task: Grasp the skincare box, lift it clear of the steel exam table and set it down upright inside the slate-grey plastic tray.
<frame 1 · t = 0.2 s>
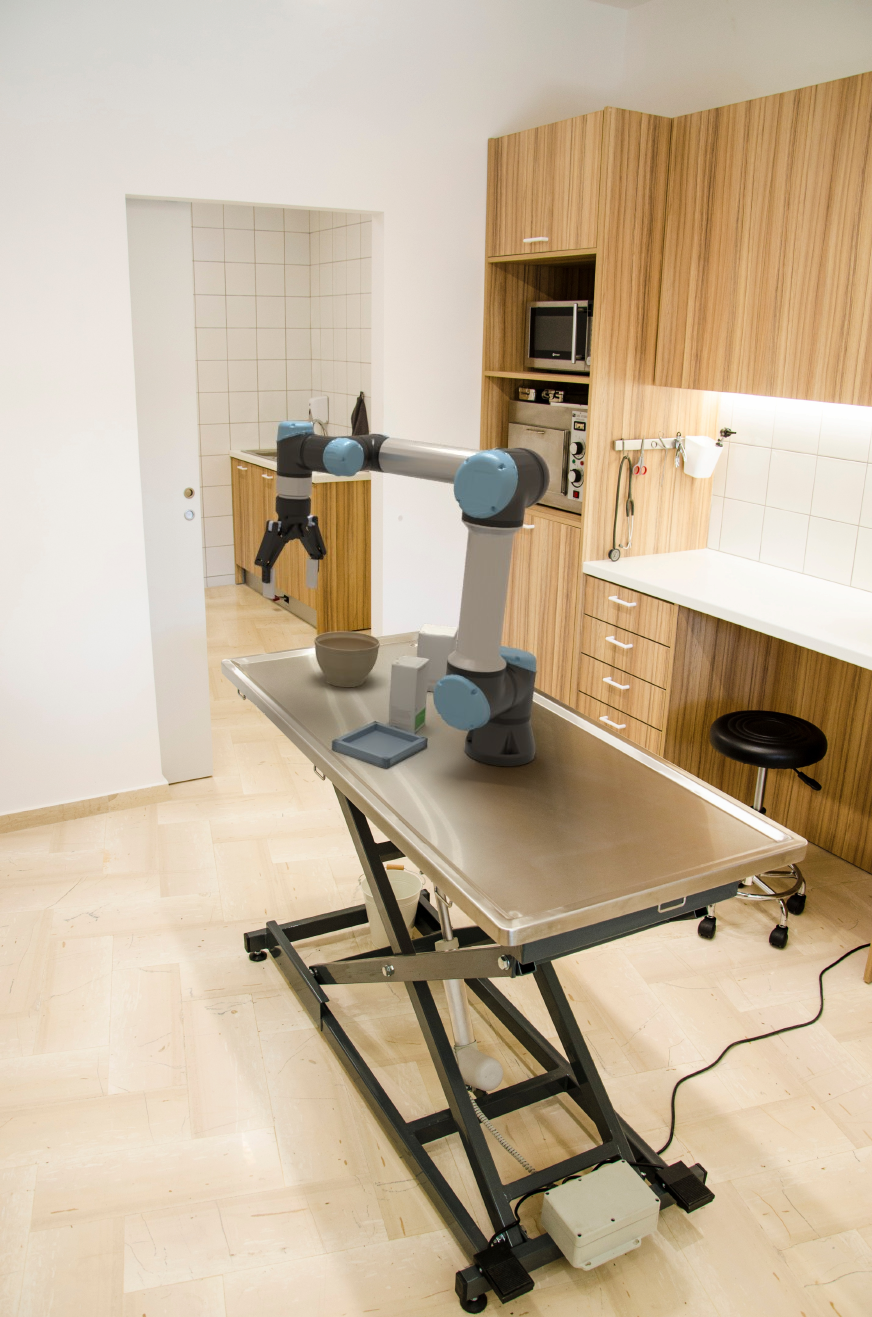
hand: (290, 592, 217), 28 cm above the table, fingers open, 13 cm apart
supplement box: (434, 687, 248), on the table
planter bowl: (345, 682, 247), on the table
tray: (380, 748, 209), on the table
skincare box: (405, 727, 221), on the table
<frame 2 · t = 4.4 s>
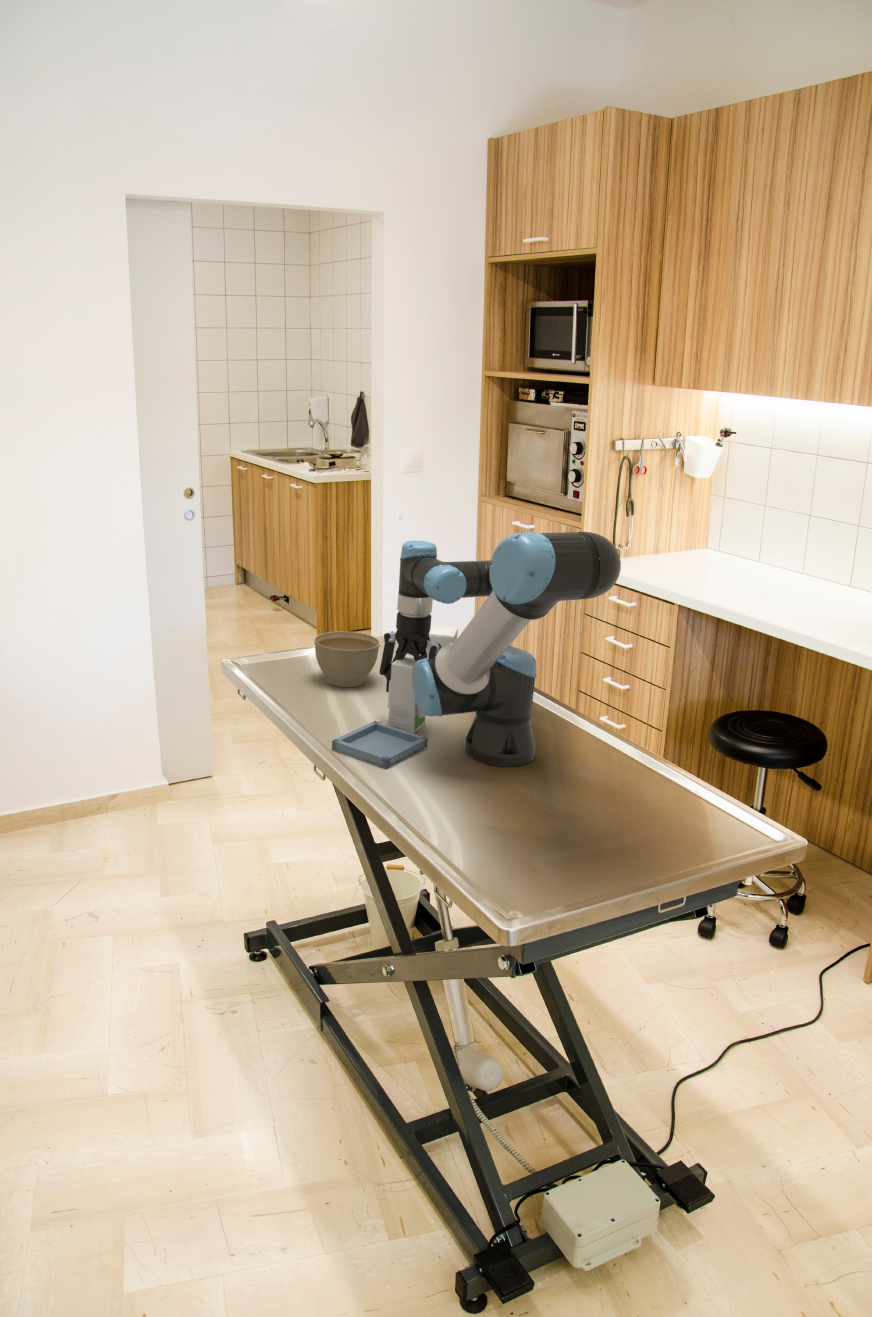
hand: (407, 711, 220), 4 cm above the table, fingers closed on skincare box, 7 cm apart
skincare box: (405, 727, 221), on the table, touching gripper
everything else where it was.
when the fingers open (5 cm above the table, at t = 9.2 s): skincare box stays where it is, resting on tray.
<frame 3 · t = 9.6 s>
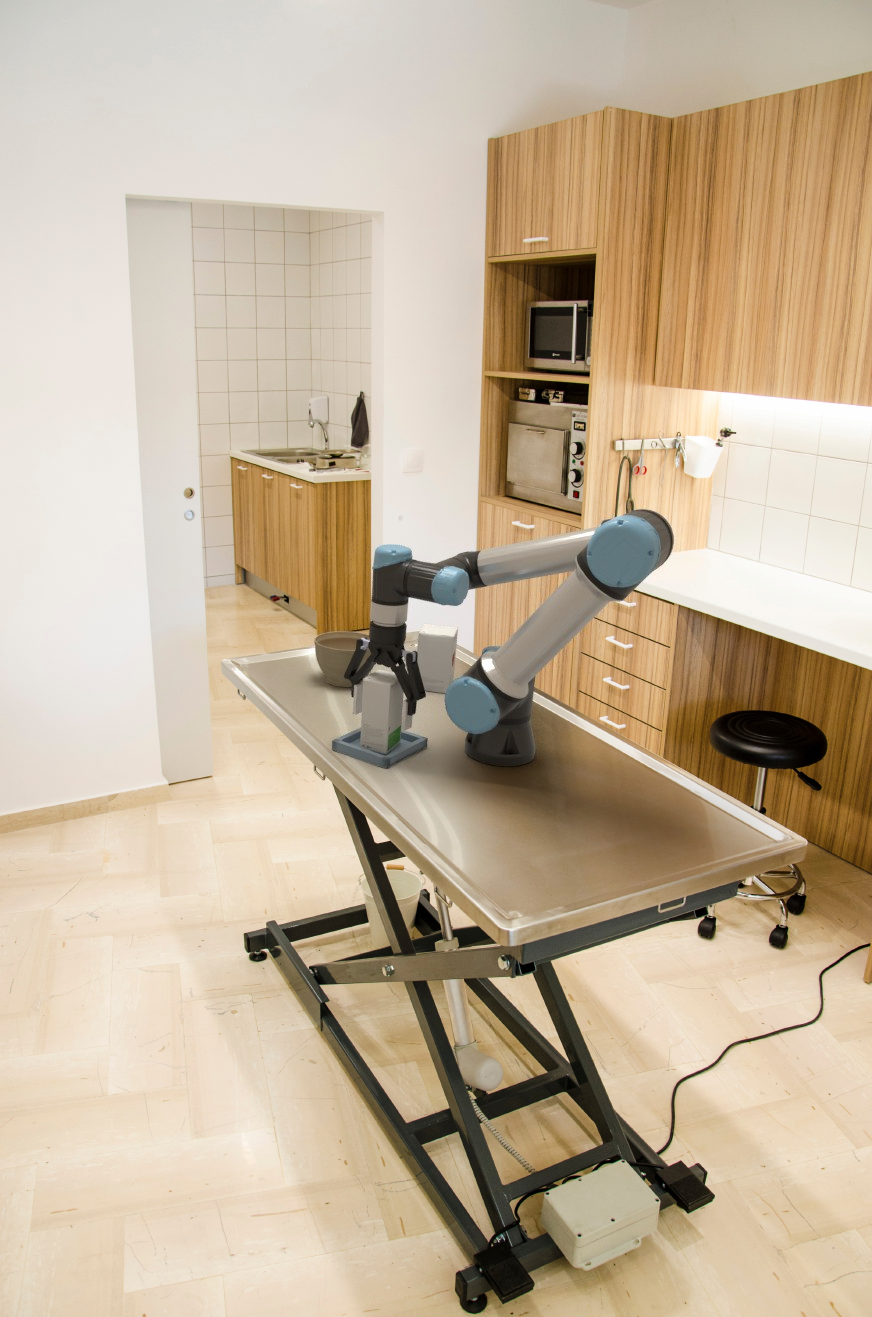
hand: (381, 720, 207), 6 cm above the table, fingers open, 12 cm apart
skincare box: (379, 746, 208), resting on tray
everything else where it was.
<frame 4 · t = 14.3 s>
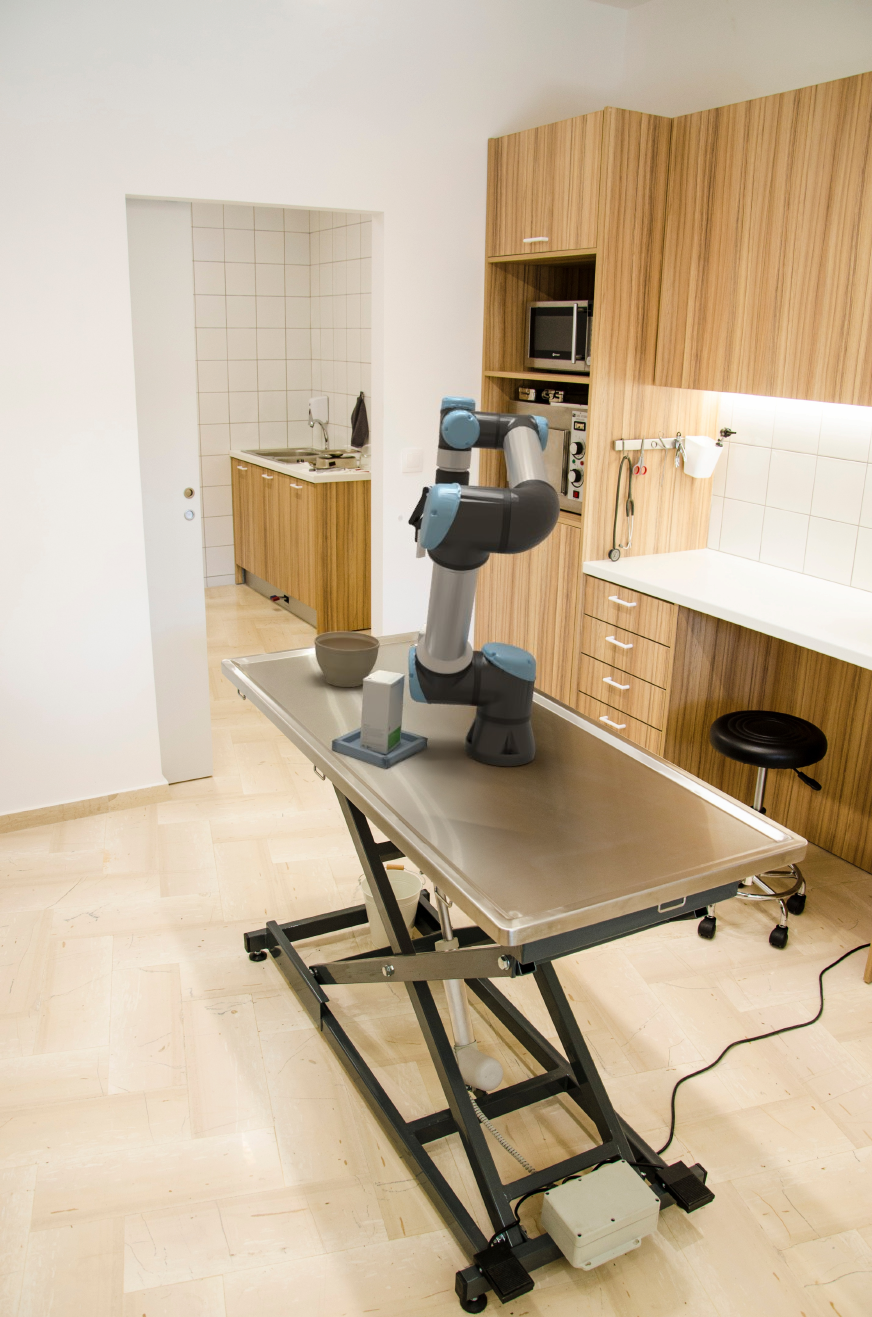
hand: (445, 562, 225), 35 cm above the table, fingers open, 13 cm apart
nothing on the table moved.
at the end: skincare box inside the target area on the tray (0.1 cm from its centre), point 0.4 cm above the tray's base; skincare box tilted 0°; the gripper is holding nothing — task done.
